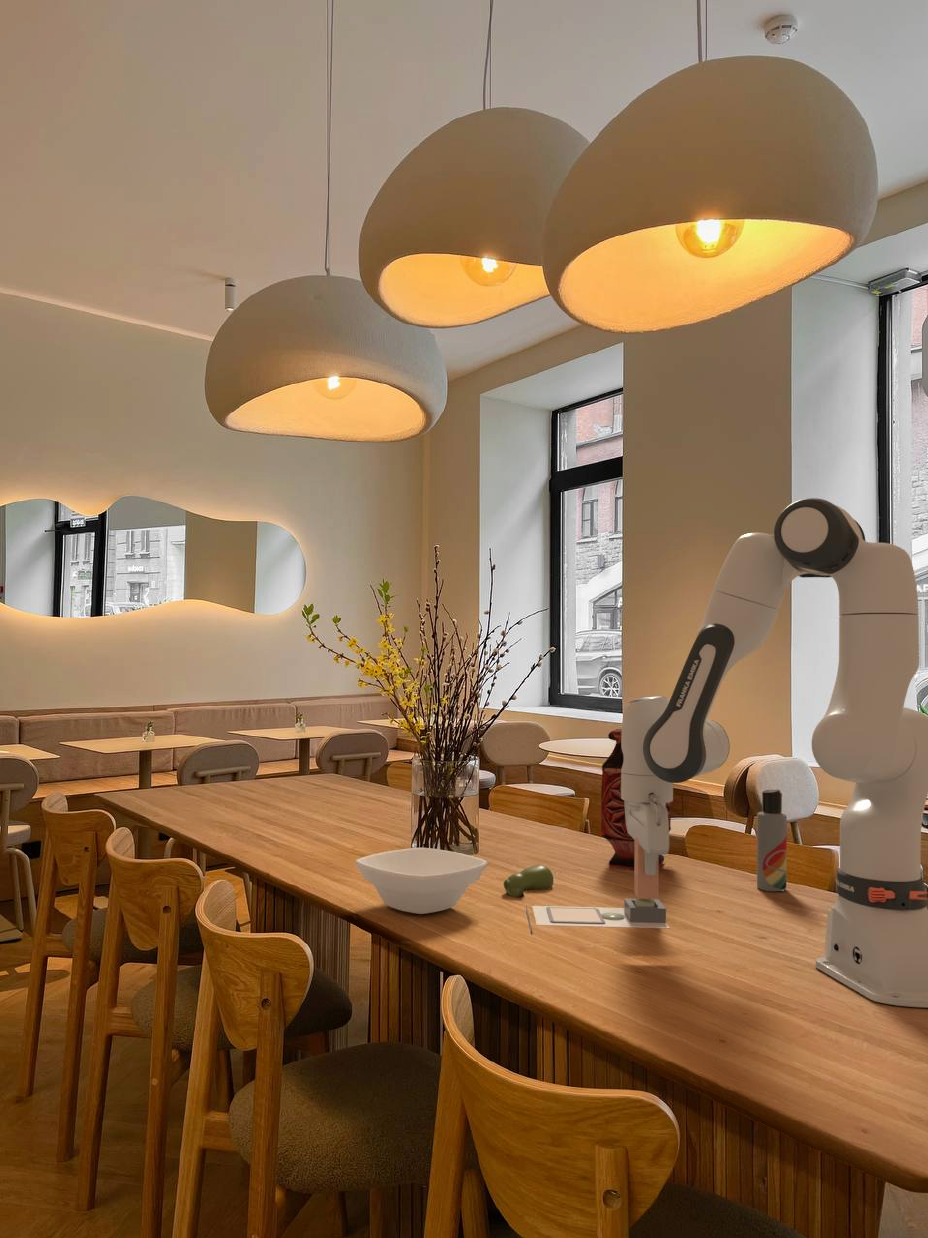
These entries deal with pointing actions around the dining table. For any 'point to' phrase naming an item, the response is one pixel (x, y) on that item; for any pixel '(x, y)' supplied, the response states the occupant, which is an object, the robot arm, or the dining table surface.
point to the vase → (618, 809)
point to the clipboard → (586, 917)
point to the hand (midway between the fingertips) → (646, 870)
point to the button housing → (645, 912)
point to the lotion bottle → (771, 843)
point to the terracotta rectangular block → (644, 876)
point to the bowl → (421, 877)
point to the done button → (644, 902)
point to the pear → (529, 880)
